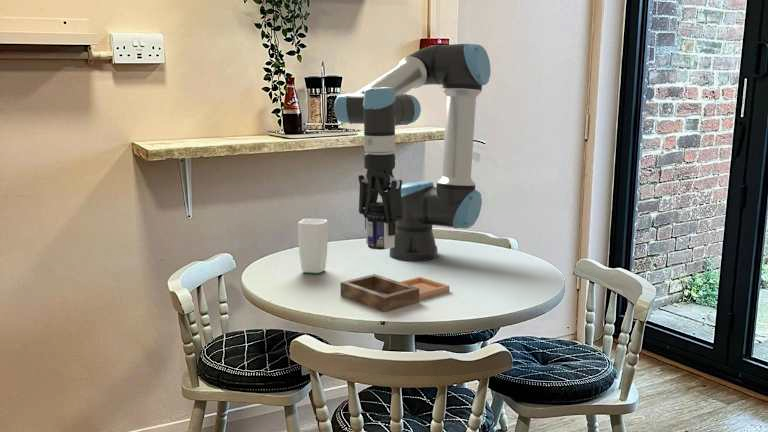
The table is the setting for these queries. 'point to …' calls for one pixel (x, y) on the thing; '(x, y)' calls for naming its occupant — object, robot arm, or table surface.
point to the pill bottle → (376, 226)
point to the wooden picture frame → (363, 293)
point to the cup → (313, 244)
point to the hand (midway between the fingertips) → (380, 245)
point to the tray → (427, 287)
